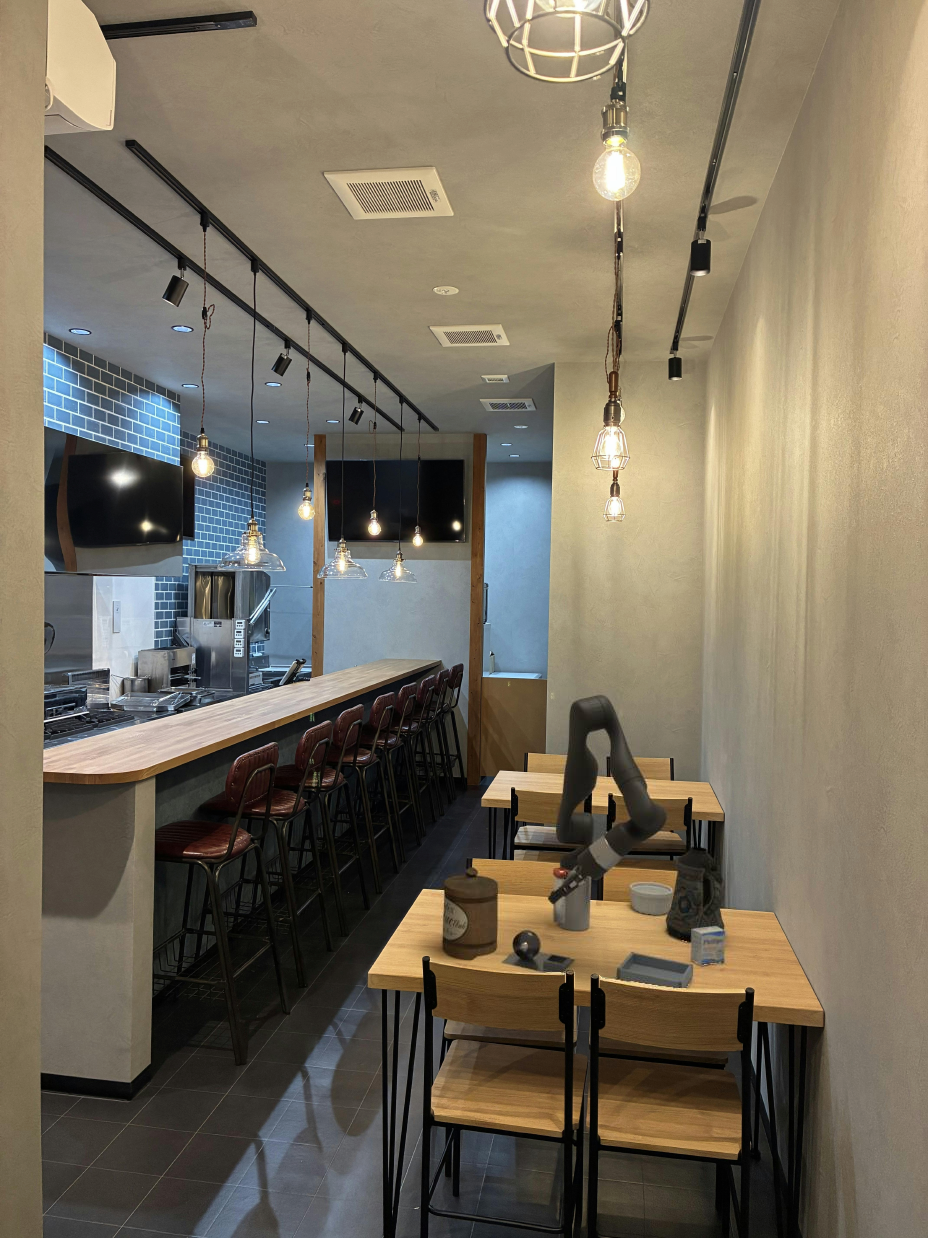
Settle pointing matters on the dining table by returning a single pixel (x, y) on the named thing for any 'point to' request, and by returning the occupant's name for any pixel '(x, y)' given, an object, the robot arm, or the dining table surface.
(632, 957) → the tray
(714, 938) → the medicine box
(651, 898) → the ramekin
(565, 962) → the pin socket base
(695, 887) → the beer stein
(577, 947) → the dining table surface
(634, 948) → the dining table surface
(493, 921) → the wooden container
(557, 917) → the pin
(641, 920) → the dining table surface
